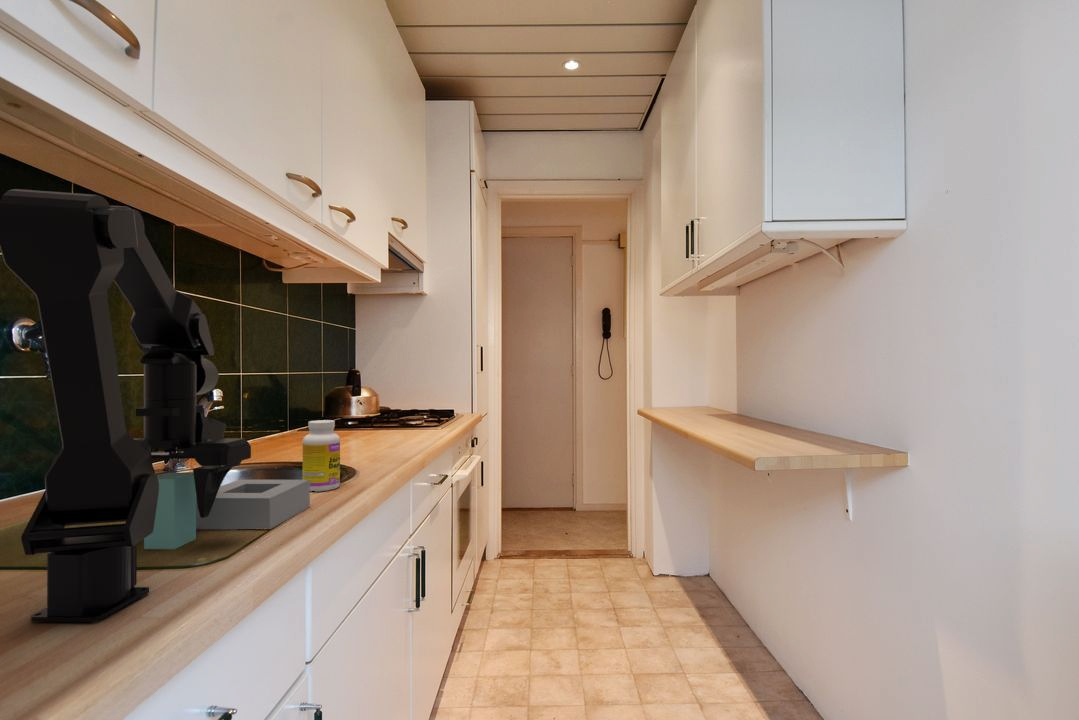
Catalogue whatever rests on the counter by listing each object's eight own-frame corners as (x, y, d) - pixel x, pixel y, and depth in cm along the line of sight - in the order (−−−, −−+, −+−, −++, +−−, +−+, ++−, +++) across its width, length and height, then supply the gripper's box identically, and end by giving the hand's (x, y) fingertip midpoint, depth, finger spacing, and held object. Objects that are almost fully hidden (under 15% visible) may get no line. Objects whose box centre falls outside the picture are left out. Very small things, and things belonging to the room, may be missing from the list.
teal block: (174, 549, 67) (174, 479, 67) (143, 549, 67) (144, 479, 67) (195, 538, 71) (196, 472, 71) (167, 538, 71) (167, 472, 71)
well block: (269, 529, 75) (269, 498, 75) (188, 529, 75) (188, 497, 75) (309, 506, 87) (309, 479, 87) (239, 506, 87) (239, 479, 87)
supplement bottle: (331, 492, 96) (331, 423, 96) (295, 492, 96) (295, 423, 97) (345, 484, 103) (345, 419, 103) (312, 484, 103) (312, 419, 103)
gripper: (273, 395, 77) (273, 501, 77) (149, 395, 78) (149, 500, 77) (224, 400, 66) (224, 524, 66) (81, 400, 66) (81, 523, 66)
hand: (170, 516), depth 69 cm, fingers open, 9 cm apart
